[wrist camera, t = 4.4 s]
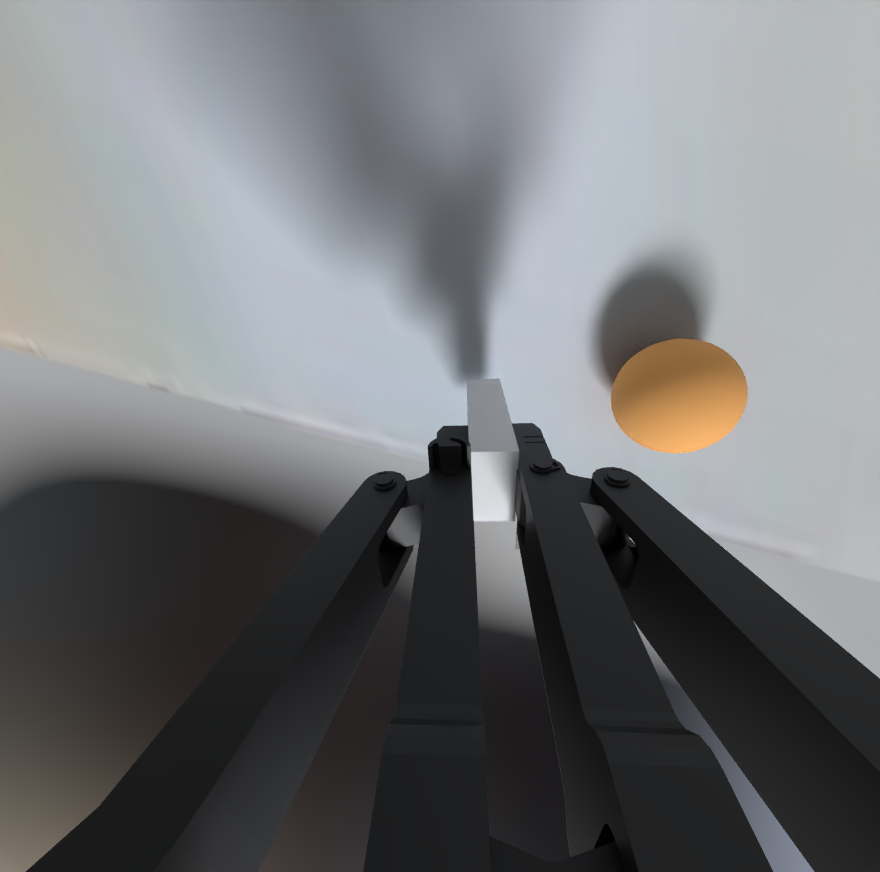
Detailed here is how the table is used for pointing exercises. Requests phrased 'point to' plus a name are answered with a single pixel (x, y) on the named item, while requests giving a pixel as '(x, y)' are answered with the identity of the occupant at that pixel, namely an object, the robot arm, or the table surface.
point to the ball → (679, 395)
